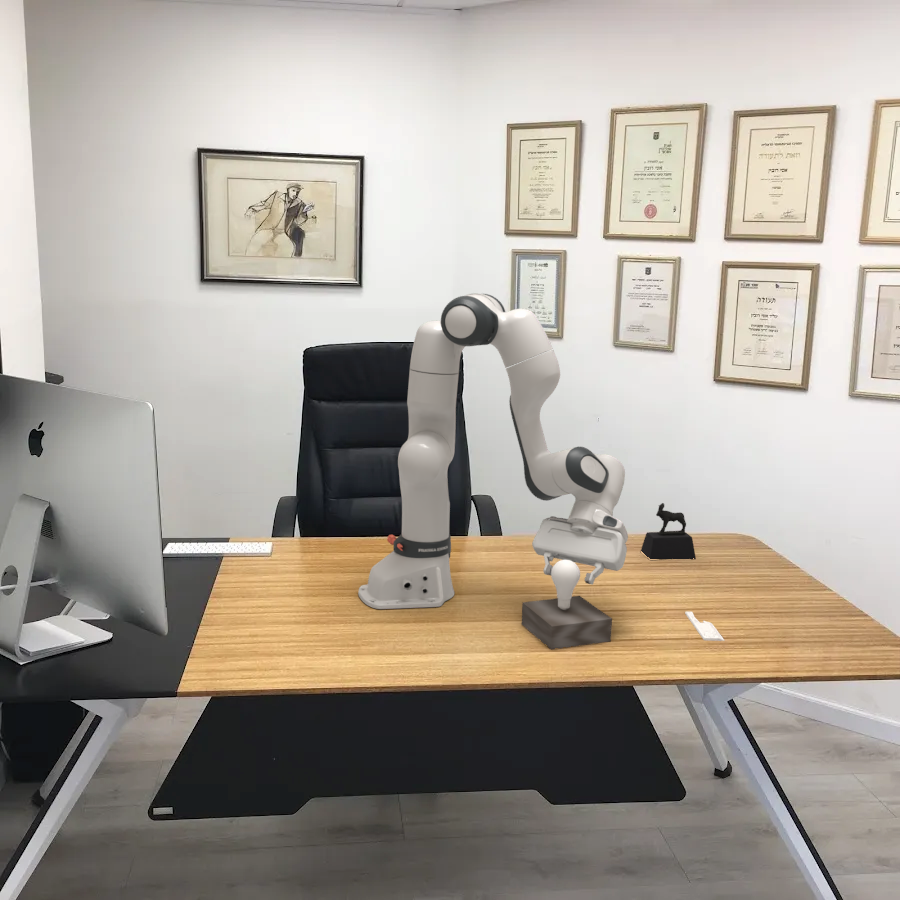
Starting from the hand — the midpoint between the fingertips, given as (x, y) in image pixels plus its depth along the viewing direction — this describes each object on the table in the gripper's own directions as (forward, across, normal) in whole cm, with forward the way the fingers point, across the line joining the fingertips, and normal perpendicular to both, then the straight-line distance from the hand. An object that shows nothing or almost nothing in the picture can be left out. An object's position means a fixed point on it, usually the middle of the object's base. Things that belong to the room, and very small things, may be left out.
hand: (567, 578), depth 196 cm
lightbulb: (+5, -1, +5) cm, 7 cm away
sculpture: (-37, +1, +55) cm, 66 cm away
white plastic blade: (-6, +24, +24) cm, 35 cm away
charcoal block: (+8, 0, +9) cm, 12 cm away
